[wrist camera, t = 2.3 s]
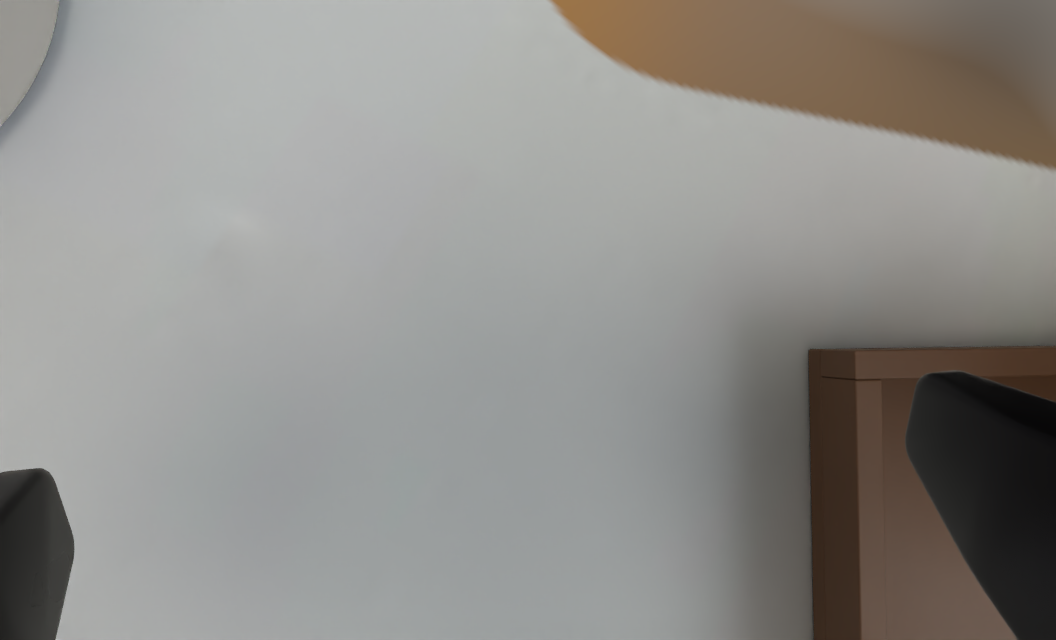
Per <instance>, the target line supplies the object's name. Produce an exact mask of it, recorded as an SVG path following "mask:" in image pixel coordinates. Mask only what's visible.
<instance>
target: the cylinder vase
mask: <svg viewBox="0 0 1056 640" xmlns="http://www.w3.org/2000/svg"><path fill="white" fill-rule="evenodd" d="M59 1H60V0H0V126H1V125H2V124H3V123H4V122H5V121H6V120H7V119H8V117H9V116H10V115H11V114H12V113H13V111H14V110H15V109H16V108H17V106H18V105H19V103H20V102H21V101H22V99H23V98H24V96H25V95H26V93H27V92H28V90H29V89H30V87H31V85H32V83H33V82H34V80H35V78H36V76H37V74H38V72H39V70H40V68H41V66H42V64H43V61H44V59H45V57H46V54H47V51H48V49H49V46H50V43H51V40H52V36H53V33H54V29H55V25H56V20H57V15H58V9H59Z"/></svg>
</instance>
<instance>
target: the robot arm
mask: <svg viewBox="0 0 1056 640" xmlns="http://www.w3.org/2000/svg"><path fill="white" fill-rule="evenodd" d="M905 448H906V452H907V455H908V458H909V460H910V462H911V464H912V466H913V468H914V470H915V471H916V473H917V475H918V477H919V479H920V480H921V482H922V484H923V486H924V488H925V490H926V491H927V493H928V495H929V497H930V499H931V501H932V502H933V504H934V506H935V508H936V510H937V511H938V513H939V515H940V517H941V519H942V521H943V522H944V524H945V526H946V528H947V530H948V531H949V533H950V535H951V537H952V539H953V541H954V542H955V544H956V546H957V548H958V550H959V552H960V553H961V555H962V557H963V558H964V560H965V562H966V564H967V565H968V567H969V569H970V570H971V572H972V574H973V575H974V577H975V578H976V580H977V581H978V583H979V584H980V586H981V587H982V589H983V591H984V592H985V594H986V595H987V596H988V598H989V599H990V601H991V602H992V604H993V605H994V607H995V608H996V610H997V611H998V612H999V614H1000V615H1001V617H1002V618H1003V620H1004V621H1005V623H1006V624H1007V625H1008V627H1009V628H1010V630H1011V631H1012V633H1013V634H1014V636H1015V637H1016V638H1017V640H1056V402H1055V401H1052V400H1049V399H1046V398H1043V397H1040V396H1037V395H1034V394H1031V393H1028V392H1025V391H1022V390H1019V389H1016V388H1013V387H1010V386H1007V385H1004V384H1001V383H998V382H995V381H992V380H989V379H986V378H983V377H980V376H977V375H974V374H971V373H968V372H965V371H961V370H950V371H941V372H932V373H927V374H924V375H923V376H921V377H920V378H919V380H918V381H917V383H916V386H915V390H914V395H913V400H912V404H911V409H910V414H909V419H908V424H907V428H906V433H905ZM73 558H74V539H73V534H72V531H71V528H70V525H69V522H68V519H67V516H66V513H65V510H64V507H63V504H62V501H61V498H60V495H59V492H58V489H57V486H56V483H55V481H54V479H53V477H52V476H51V474H50V473H49V472H48V471H46V470H44V469H42V468H35V469H26V470H17V471H7V472H2V473H0V640H55V639H56V635H57V630H58V626H59V621H60V617H61V613H62V608H63V604H64V599H65V595H66V590H67V586H68V581H69V577H70V572H71V568H72V564H73Z"/></svg>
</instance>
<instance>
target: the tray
mask: <svg viewBox="0 0 1056 640" xmlns="http://www.w3.org/2000/svg"><path fill="white" fill-rule="evenodd" d="M950 370H961V371H965V372H968V373H971V374H974V375H977V376H980V377H983V378H986V379H989V380H992V381H995V382H998V383H1001V384H1004V385H1007V386H1010V387H1013V388H1016V389H1019V390H1022V391H1025V392H1028V393H1031V394H1034V395H1037V396H1040V397H1043V398H1046V399H1049V400H1052V401H1055V402H1056V346H995V347H923V348H850V349H810V350H809V396H810V450H811V504H812V557H813V611H814V640H1017V638H1016V637H1015V636H1014V634H1013V633H1012V631H1011V630H1010V628H1009V627H1008V625H1007V624H1006V623H1005V621H1004V620H1003V618H1002V617H1001V615H1000V614H999V612H998V611H997V610H996V608H995V607H994V605H993V604H992V602H991V601H990V599H989V598H988V596H987V595H986V594H985V592H984V591H983V589H982V587H981V586H980V584H979V583H978V581H977V580H976V578H975V577H974V575H973V574H972V572H971V570H970V569H969V567H968V565H967V564H966V562H965V560H964V558H963V557H962V555H961V553H960V552H959V550H958V548H957V546H956V544H955V542H954V541H953V539H952V537H951V535H950V533H949V531H948V530H947V528H946V526H945V524H944V522H943V521H942V519H941V517H940V515H939V513H938V511H937V510H936V508H935V506H934V504H933V502H932V501H931V499H930V497H929V495H928V493H927V491H926V490H925V488H924V486H923V484H922V482H921V480H920V479H919V477H918V475H917V473H916V471H915V470H914V468H913V466H912V464H911V462H910V460H909V458H908V455H907V452H906V448H905V433H906V428H907V424H908V419H909V414H910V409H911V404H912V400H913V395H914V390H915V386H916V383H917V381H918V380H919V378H920V377H921V376H923V375H924V374H927V373H932V372H941V371H950Z"/></svg>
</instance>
